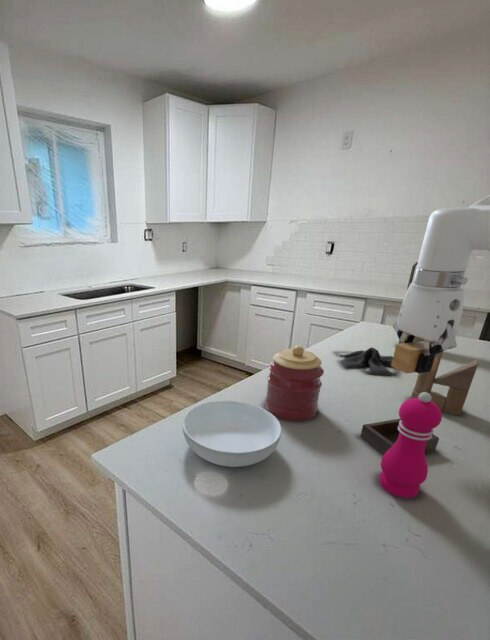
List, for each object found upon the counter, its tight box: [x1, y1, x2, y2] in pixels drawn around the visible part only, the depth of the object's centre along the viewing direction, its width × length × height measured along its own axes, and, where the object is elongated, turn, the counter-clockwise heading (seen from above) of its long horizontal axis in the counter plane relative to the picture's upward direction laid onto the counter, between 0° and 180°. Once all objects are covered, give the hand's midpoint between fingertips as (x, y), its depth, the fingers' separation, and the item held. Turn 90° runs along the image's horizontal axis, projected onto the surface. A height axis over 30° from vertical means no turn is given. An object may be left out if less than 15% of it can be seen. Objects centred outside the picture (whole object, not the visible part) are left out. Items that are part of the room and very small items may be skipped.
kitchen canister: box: [264, 345, 325, 422], centre depth 91 cm, size 13×13×18 cm
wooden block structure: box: [409, 339, 479, 416], centre depth 90 cm, size 4×11×18 cm, turn 52°
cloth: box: [339, 347, 397, 377], centre depth 119 cm, size 22×19×6 cm
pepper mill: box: [378, 392, 443, 499], centre depth 64 cm, size 7×7×20 cm
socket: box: [360, 418, 440, 456], centre depth 79 cm, size 12×8×4 cm
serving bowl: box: [181, 400, 283, 468], centre depth 78 cm, size 21×21×7 cm
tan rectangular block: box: [391, 341, 439, 374], centre depth 75 cm, size 7×4×5 cm, turn 102°
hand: (413, 366), depth 76 cm, fingers closed on tan rectangular block, 4 cm apart
